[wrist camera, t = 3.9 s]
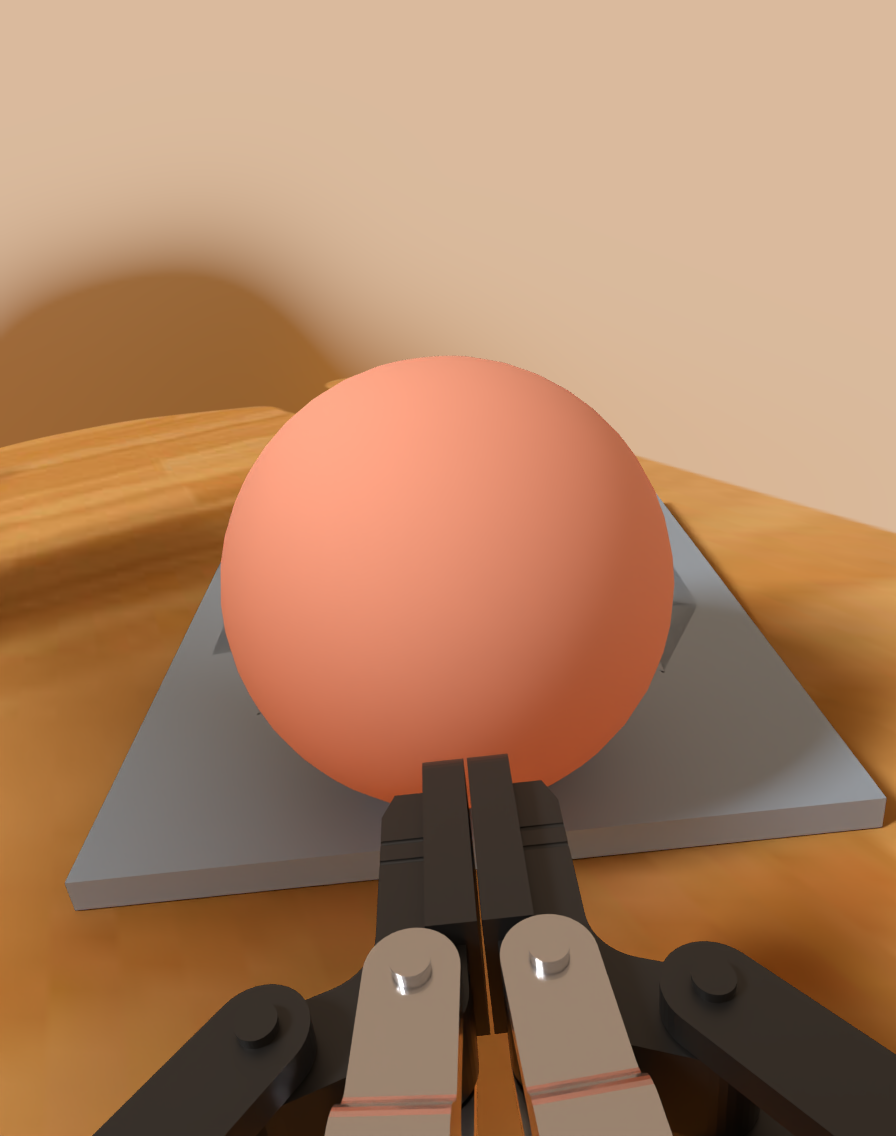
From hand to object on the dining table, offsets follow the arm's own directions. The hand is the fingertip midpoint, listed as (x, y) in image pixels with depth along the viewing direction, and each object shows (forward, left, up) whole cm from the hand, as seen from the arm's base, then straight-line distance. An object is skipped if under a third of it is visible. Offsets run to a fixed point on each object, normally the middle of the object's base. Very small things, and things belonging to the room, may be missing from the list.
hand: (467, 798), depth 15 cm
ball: (-6, +6, 0) cm, 9 cm away
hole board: (-12, +12, -7) cm, 19 cm away
